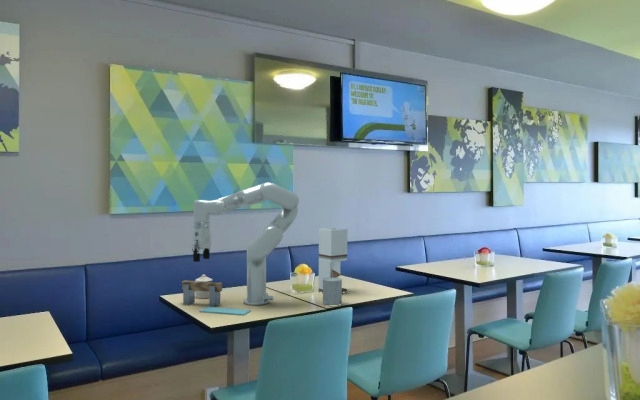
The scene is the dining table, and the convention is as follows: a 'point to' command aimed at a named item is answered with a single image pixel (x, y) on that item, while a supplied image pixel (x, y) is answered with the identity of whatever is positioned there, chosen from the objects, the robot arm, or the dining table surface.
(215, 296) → the near standard
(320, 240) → the grey tall blocky piece
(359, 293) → the dining table surface
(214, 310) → the mat
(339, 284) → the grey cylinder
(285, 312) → the dining table surface
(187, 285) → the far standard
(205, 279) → the teacup with lid
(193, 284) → the rail
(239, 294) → the dining table surface
